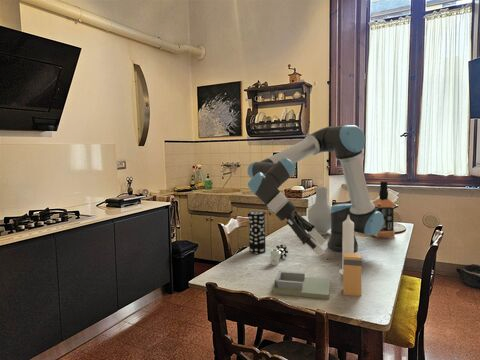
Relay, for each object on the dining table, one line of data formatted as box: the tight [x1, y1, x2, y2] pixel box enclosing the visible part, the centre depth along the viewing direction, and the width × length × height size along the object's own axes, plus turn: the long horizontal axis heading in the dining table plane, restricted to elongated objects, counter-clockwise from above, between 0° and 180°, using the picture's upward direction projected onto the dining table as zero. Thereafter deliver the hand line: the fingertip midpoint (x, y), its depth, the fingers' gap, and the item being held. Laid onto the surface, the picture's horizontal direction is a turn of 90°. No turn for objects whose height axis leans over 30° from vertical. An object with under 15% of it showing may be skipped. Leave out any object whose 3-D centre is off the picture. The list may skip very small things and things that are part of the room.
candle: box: [338, 215, 355, 276], centre depth 143 cm, size 7×7×25 cm
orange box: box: [342, 252, 363, 297], centre depth 125 cm, size 6×5×14 cm
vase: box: [307, 186, 333, 236], centre depth 208 cm, size 17×16×28 cm
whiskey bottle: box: [372, 180, 396, 239], centre depth 199 cm, size 10×10×32 cm
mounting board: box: [272, 270, 331, 300], centre depth 131 cm, size 20×15×4 cm
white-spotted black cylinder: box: [248, 210, 267, 255], centre depth 176 cm, size 8×8×20 cm
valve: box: [269, 243, 289, 266], centre depth 161 cm, size 7×7×12 cm
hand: (322, 248), depth 127 cm, fingers open, 13 cm apart
